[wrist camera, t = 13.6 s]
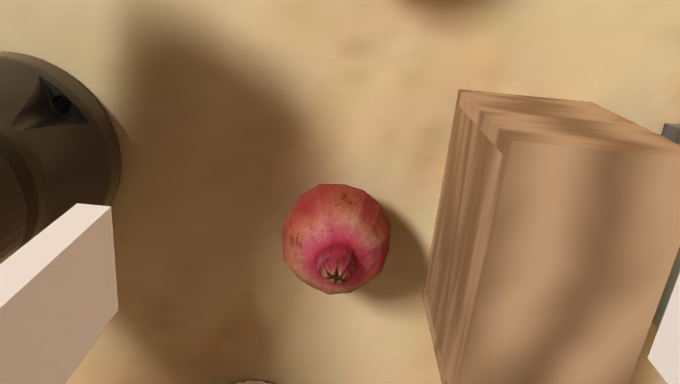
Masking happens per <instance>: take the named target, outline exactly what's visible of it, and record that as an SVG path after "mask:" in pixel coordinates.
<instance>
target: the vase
mask: <svg viewBox="0 0 680 384" xmlns="http://www.w3.org/2000/svg"><path fill="white" fill-rule="evenodd" d="M236 384H273V383H266V382H264V381H252V380H248V381H246V382H238V383H236Z"/></svg>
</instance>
